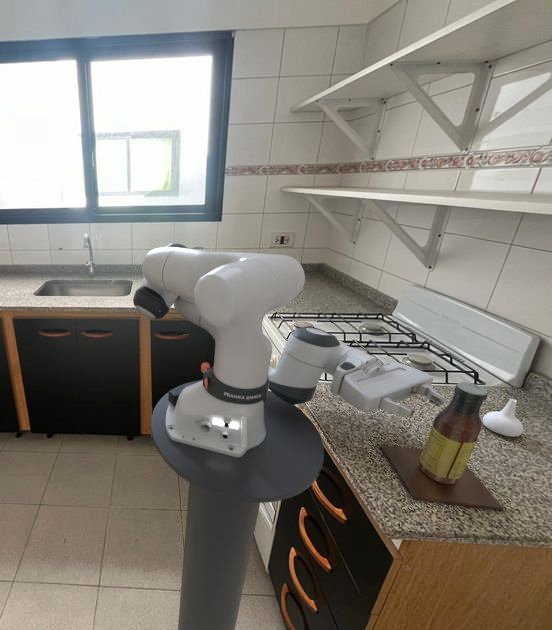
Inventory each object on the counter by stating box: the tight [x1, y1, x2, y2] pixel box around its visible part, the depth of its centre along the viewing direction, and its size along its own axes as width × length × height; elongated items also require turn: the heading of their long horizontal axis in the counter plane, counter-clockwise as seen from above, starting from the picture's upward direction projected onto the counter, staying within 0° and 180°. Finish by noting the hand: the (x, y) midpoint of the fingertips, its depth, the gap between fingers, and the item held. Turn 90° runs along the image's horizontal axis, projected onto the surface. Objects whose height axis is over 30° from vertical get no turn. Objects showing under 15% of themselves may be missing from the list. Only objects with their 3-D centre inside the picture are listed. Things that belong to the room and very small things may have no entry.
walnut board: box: [380, 445, 505, 511], centre depth 67 cm, size 14×13×1 cm
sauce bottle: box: [419, 381, 489, 484], centre depth 63 cm, size 6×6×20 cm
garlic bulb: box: [481, 398, 524, 438], centre depth 77 cm, size 6×6×8 cm
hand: (427, 408), depth 66 cm, fingers open, 8 cm apart
